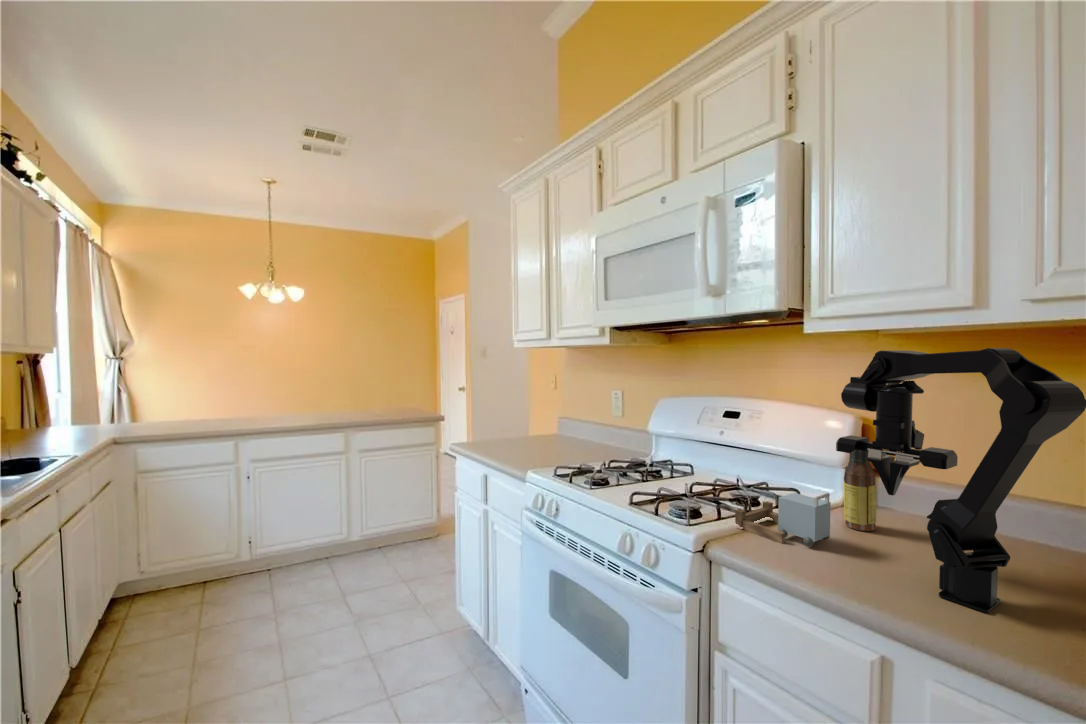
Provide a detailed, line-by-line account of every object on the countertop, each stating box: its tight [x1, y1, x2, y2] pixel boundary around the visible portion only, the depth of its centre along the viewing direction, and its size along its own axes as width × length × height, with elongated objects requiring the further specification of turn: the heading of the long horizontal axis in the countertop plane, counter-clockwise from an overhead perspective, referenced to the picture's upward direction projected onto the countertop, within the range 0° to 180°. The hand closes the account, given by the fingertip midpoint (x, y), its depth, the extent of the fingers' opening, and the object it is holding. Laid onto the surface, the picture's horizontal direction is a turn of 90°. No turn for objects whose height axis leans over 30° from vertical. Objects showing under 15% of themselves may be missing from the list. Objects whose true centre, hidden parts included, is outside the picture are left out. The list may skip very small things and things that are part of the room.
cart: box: [777, 492, 832, 548], centre depth 108 cm, size 8×7×10 cm
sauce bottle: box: [843, 450, 877, 532], centre depth 115 cm, size 7×6×20 cm
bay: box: [734, 501, 786, 544], centre depth 114 cm, size 11×12×4 cm
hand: (891, 494), depth 97 cm, fingers closed
